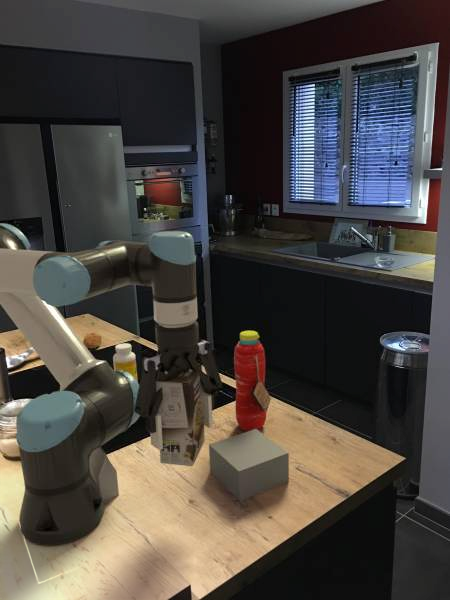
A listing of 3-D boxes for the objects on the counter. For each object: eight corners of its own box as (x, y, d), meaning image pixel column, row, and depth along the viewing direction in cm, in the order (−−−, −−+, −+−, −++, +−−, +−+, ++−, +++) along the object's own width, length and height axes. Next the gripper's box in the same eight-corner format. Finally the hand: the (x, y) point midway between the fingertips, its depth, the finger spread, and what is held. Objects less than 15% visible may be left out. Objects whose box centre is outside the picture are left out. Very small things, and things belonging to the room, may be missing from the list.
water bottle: (278, 437, 127) (277, 338, 120) (247, 443, 124) (245, 343, 118) (259, 415, 138) (257, 324, 131) (230, 421, 135) (227, 328, 129)
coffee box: (194, 467, 93) (190, 383, 89) (159, 464, 94) (153, 381, 90) (206, 440, 102) (203, 363, 97) (174, 438, 103) (169, 361, 99)
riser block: (239, 502, 103) (238, 471, 101) (210, 473, 113) (208, 444, 112) (288, 482, 109) (288, 452, 107) (256, 456, 119) (255, 428, 117)
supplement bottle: (140, 388, 157) (136, 347, 154) (118, 392, 155) (114, 351, 152) (135, 379, 163) (131, 340, 160) (113, 383, 161) (110, 344, 158)
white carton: (101, 503, 104) (96, 458, 102) (91, 486, 110) (86, 443, 108) (119, 496, 106) (114, 452, 104) (108, 480, 112) (103, 438, 109)
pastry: (102, 349, 191) (101, 339, 190) (83, 350, 189) (82, 340, 188) (101, 341, 200) (101, 331, 199) (83, 342, 198) (82, 333, 197)
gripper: (129, 342, 81) (139, 468, 87) (240, 312, 96) (242, 421, 102) (106, 331, 87) (117, 450, 93) (213, 304, 101) (217, 408, 107)
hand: (182, 435), depth 97 cm, fingers closed on coffee box, 11 cm apart
